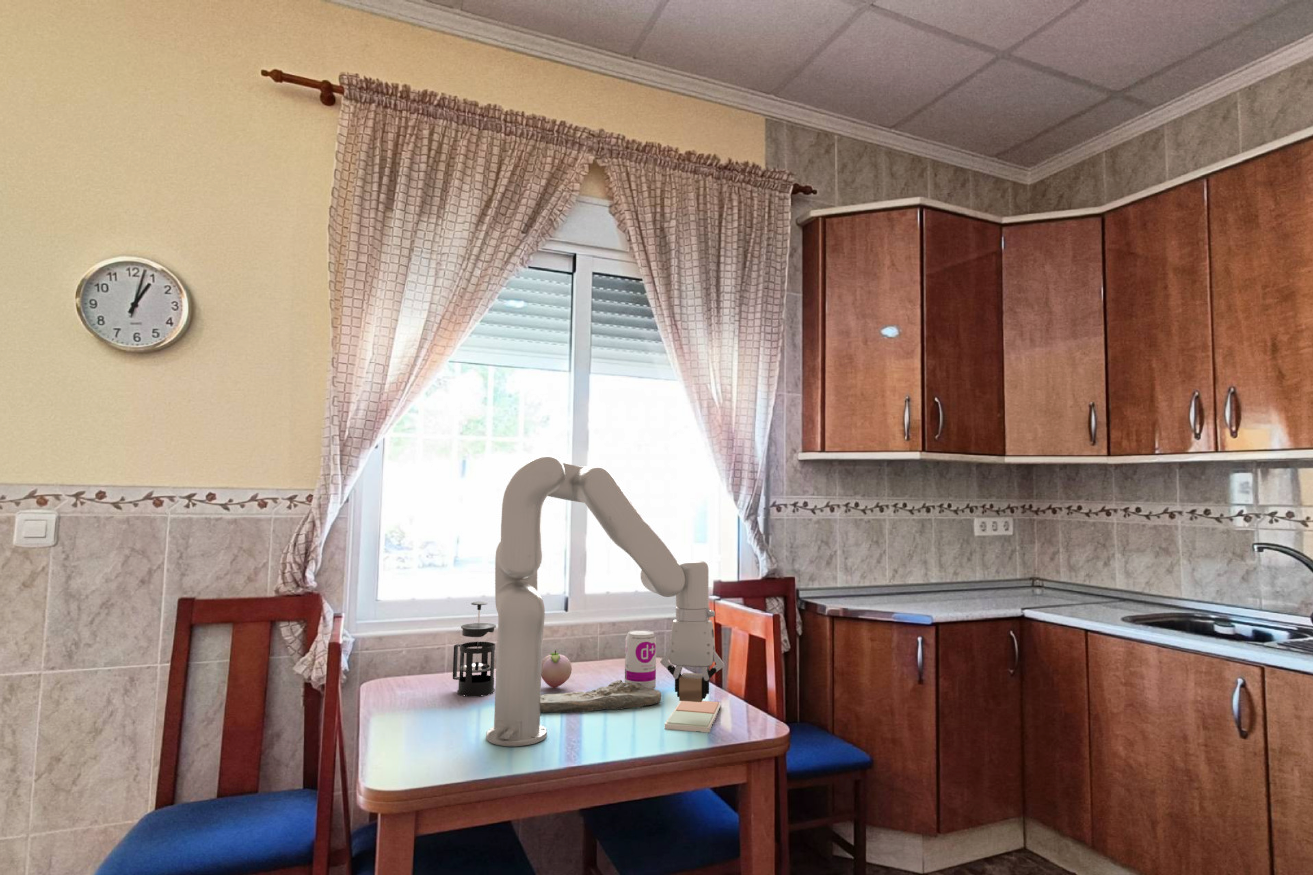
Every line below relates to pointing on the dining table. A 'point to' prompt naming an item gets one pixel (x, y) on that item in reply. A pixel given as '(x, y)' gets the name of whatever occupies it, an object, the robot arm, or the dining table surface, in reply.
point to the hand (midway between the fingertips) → (692, 695)
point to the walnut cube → (690, 687)
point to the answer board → (693, 716)
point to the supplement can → (640, 658)
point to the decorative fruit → (555, 669)
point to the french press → (476, 683)
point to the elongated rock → (601, 698)
